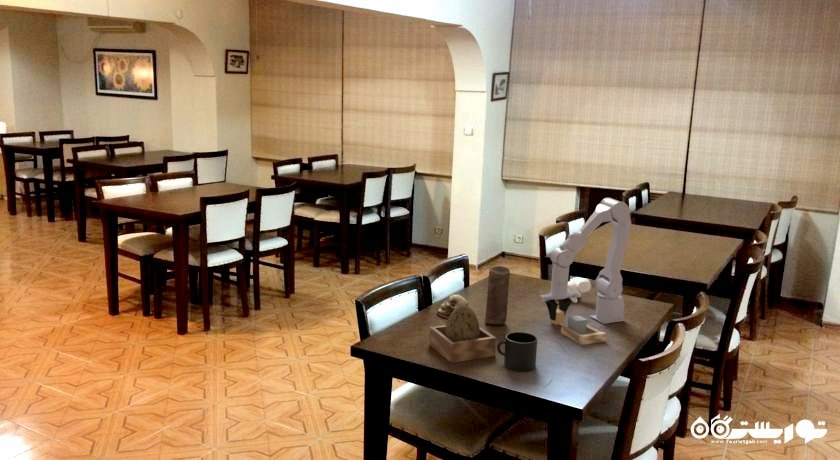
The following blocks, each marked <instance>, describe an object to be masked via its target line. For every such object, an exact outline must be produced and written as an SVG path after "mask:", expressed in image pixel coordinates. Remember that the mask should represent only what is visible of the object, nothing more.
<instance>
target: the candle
mask: <svg viewBox="0 0 840 460" xmlns="http://www.w3.org/2000/svg"><path fill="white" fill-rule="evenodd" d="M488 271H489V272H488V281H487V282H488V284H487V297H486V304H485V305H486V307H485V316H484V317H485V319H484V321H485V322H486V324H491V325H495V326H501V325H503V324H504V323H506V322H507V314H508V304H509V303H508V301H509V300H508V299H509V288H510V287H509V286H510V275H511V271H510V269H509V268H508V267H506V266H501V265H498V266H497V265H496V266H495V265H494V266H491V267H490V268H489V270H488Z"/></svg>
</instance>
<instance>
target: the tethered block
mask: <svg viewBox="0 0 840 460" xmlns="http://www.w3.org/2000/svg"><path fill="white" fill-rule="evenodd" d="M567 318H568V319H567V325H566V324H565V322H564V321H565V317H564V311H562V310H560V309H559V308H557V310H556V318H555V320H554V321H553V320H551V319H550V323H551V324H553V325H556V326H558V325H559V326H560V327H561V326H566V327H568V328H570V329H572V330H574V331H575V332H577V333H579V334H581V335H585V334H586V329H587V325H588V319H587V318H585V317H583V316H581V315H574V316H568V317H567Z"/></svg>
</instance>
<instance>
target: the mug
mask: <svg viewBox="0 0 840 460" xmlns="http://www.w3.org/2000/svg"><path fill="white" fill-rule="evenodd" d="M503 344H504V351H502V350H501V345H503ZM496 345H497V346H496V350H497V353H498V354H499V355H502V356H503V359H504V360H503V365H504V366H505V368H507V369H509V370H510V371H515V372H519V373H520V372H523V373H524V372H525V373H526V372H531V371H533V370H534V369H535V368H536V367H537V366H536V365H537V348H538V337H537V336H536V335H534V334H532V333H530V332H529V333H528V332H524V331H523V332H522V331H517V332H516V331H514V332H510V333H507V334H506V335H505V340H502V341H499V342H498V343H497V344H496Z"/></svg>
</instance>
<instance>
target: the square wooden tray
mask: <svg viewBox="0 0 840 460" xmlns="http://www.w3.org/2000/svg"><path fill="white" fill-rule="evenodd" d="M479 327H480V334H479V338H478V339H472V340H465V341H458V342H452V341H451V340H450V339H449V338H447V337H446V335H445V328H446V324H445V325H437V326H430V327H429V342H428V343H429V344H428V345H429V346H430V347H431V348H432V349H433V350H435V351H436V352H437V353H438V354H439V355H441V356H442V357H443V358H444V357H445V358H444V359H446V360H447V361H448V362H450V364H452V363H458V362H464V361H470V360H476V359H477V360H478V359H485V358H491V357H495V356H496V349H497V346H496V345H497V344H496V343H497V337H496V336H494V335H493V334H491V333H490V332H488V331H487V330H485V328H482V326H479Z"/></svg>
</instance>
